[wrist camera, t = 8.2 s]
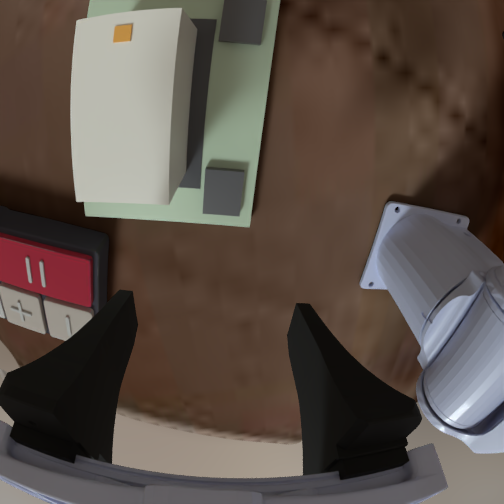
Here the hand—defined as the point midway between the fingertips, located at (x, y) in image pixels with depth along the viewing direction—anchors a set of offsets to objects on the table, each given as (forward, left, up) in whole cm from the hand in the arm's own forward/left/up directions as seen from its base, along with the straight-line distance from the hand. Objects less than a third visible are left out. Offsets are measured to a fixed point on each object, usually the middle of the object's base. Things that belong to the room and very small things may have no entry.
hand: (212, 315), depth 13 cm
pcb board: (+4, -8, -10) cm, 13 cm away
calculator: (+17, +6, -10) cm, 21 cm away
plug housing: (+5, -8, -9) cm, 13 cm away
